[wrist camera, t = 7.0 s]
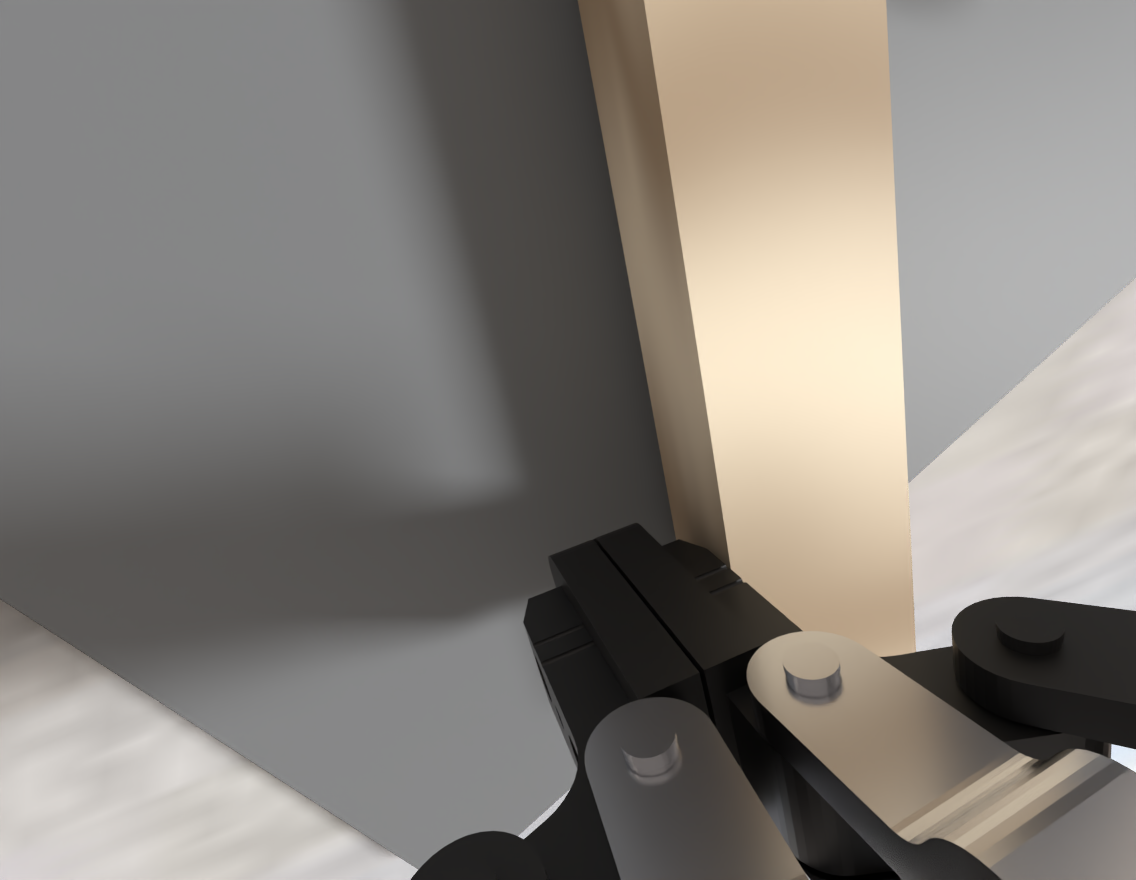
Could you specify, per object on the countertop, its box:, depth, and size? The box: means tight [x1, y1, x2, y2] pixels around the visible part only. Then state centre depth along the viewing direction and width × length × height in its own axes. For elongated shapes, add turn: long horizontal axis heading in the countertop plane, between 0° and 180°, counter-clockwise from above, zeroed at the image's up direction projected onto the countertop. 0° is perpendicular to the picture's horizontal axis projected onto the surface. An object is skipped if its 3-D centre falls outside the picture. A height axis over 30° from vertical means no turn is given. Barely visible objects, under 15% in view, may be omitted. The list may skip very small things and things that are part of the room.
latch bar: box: [578, 0, 916, 657], centre depth 8 cm, size 21×4×3 cm, turn 13°
